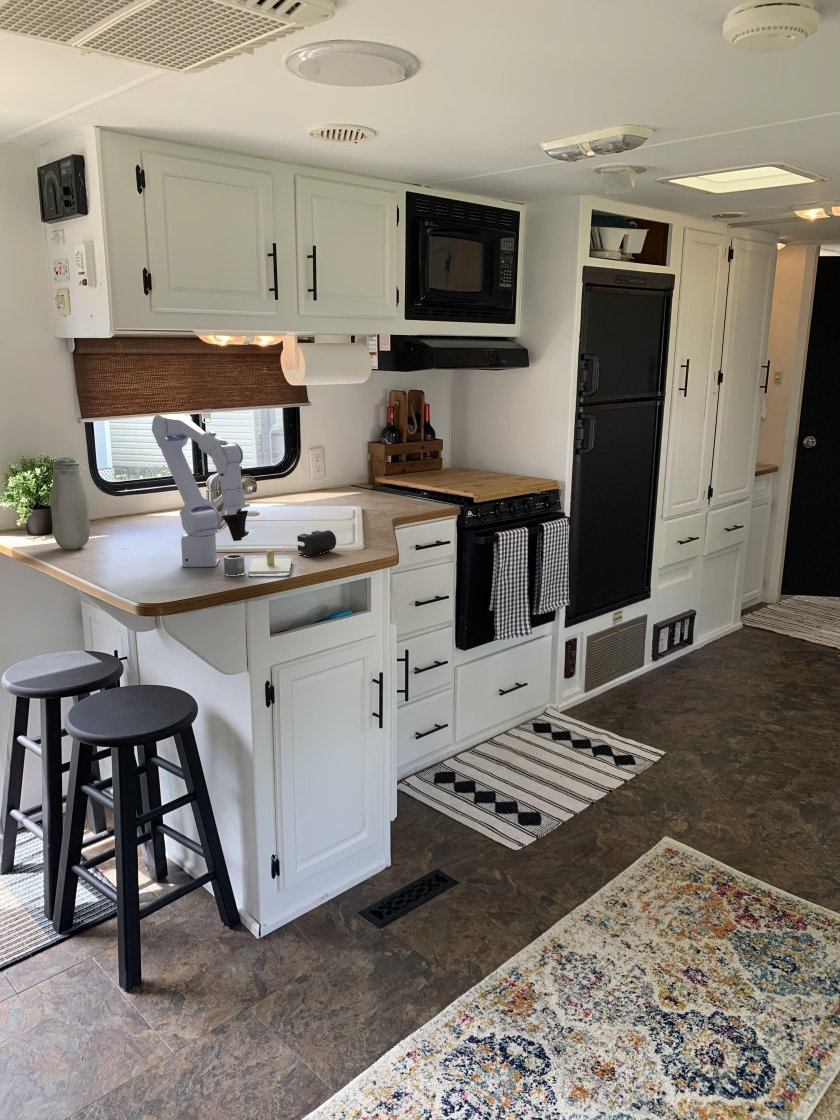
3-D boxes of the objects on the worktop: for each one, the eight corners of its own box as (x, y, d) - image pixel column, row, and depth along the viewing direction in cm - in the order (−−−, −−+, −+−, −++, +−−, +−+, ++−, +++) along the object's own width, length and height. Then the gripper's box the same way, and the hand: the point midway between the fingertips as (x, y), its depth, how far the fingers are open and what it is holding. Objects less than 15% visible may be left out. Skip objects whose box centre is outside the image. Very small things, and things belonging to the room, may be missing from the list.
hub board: (248, 576, 230) (247, 557, 229) (253, 564, 244) (252, 545, 242) (289, 576, 231) (289, 556, 230) (291, 563, 245) (291, 544, 243)
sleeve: (223, 576, 230) (223, 558, 229) (226, 571, 235) (225, 554, 234) (243, 576, 230) (242, 558, 229) (245, 571, 235) (244, 554, 234)
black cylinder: (313, 559, 250) (313, 536, 249) (296, 555, 254) (296, 533, 253) (336, 553, 258) (336, 531, 256) (320, 549, 262) (319, 528, 260)
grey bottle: (78, 553, 253) (70, 460, 247) (48, 551, 256) (39, 458, 249) (98, 546, 263) (90, 455, 256) (68, 544, 265) (60, 454, 258)
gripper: (244, 489, 222) (251, 540, 224) (249, 486, 236) (256, 534, 238) (217, 492, 221) (224, 543, 223) (224, 489, 236) (231, 537, 238)
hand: (239, 539), depth 231 cm, fingers open, 7 cm apart
